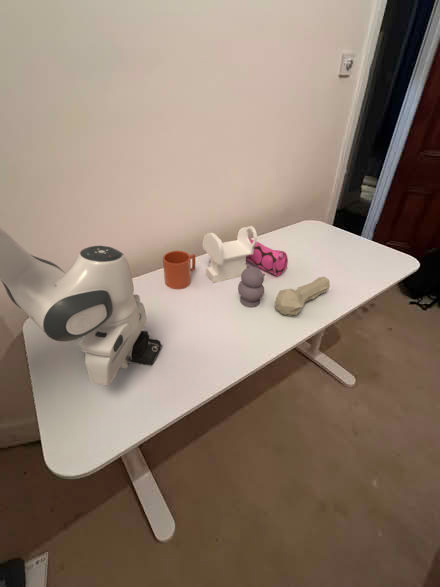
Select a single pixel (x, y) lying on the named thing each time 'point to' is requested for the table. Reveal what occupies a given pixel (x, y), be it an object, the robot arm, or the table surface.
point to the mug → (178, 269)
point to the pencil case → (268, 259)
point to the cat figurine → (251, 286)
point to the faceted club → (300, 296)
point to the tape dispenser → (228, 254)
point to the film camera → (145, 349)
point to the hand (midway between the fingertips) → (126, 363)
